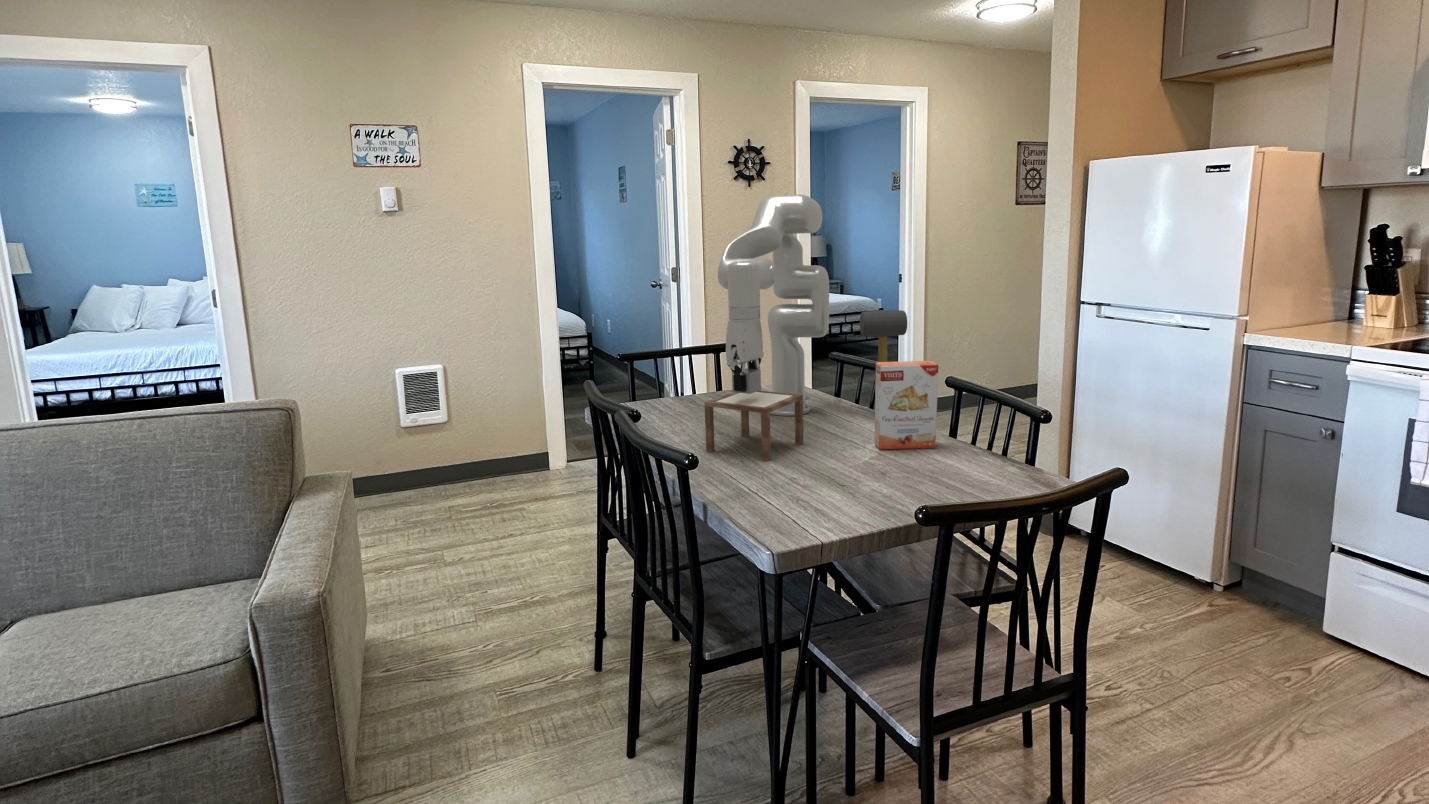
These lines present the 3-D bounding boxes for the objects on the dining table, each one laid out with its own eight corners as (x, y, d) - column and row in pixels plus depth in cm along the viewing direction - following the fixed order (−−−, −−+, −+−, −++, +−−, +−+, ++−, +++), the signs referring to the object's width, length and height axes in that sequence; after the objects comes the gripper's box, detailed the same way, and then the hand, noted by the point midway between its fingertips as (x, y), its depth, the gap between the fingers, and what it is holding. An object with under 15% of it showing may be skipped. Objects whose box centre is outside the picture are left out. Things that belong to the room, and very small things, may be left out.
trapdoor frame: (744, 435, 214) (743, 388, 212) (803, 443, 205) (802, 395, 202) (706, 451, 200) (704, 402, 198) (767, 461, 190) (766, 409, 188)
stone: (743, 388, 200) (743, 368, 199) (761, 389, 197) (760, 369, 196) (732, 392, 196) (731, 371, 195) (750, 393, 193) (749, 373, 192)
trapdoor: (745, 394, 209) (745, 390, 209) (793, 399, 202) (793, 395, 201) (714, 405, 198) (714, 401, 198) (763, 411, 190) (763, 407, 190)
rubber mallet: (900, 411, 235) (902, 307, 229) (906, 417, 228) (909, 310, 221) (858, 412, 235) (858, 309, 229) (862, 418, 228) (863, 312, 221)
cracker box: (879, 450, 196) (880, 365, 191) (873, 444, 202) (874, 361, 197) (936, 448, 196) (939, 363, 192) (929, 442, 202) (932, 359, 197)
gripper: (750, 309, 201) (752, 381, 205) (711, 317, 188) (713, 394, 192) (776, 310, 197) (777, 383, 201) (738, 318, 184) (740, 397, 188)
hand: (746, 387), depth 197 cm, fingers closed on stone, 5 cm apart
